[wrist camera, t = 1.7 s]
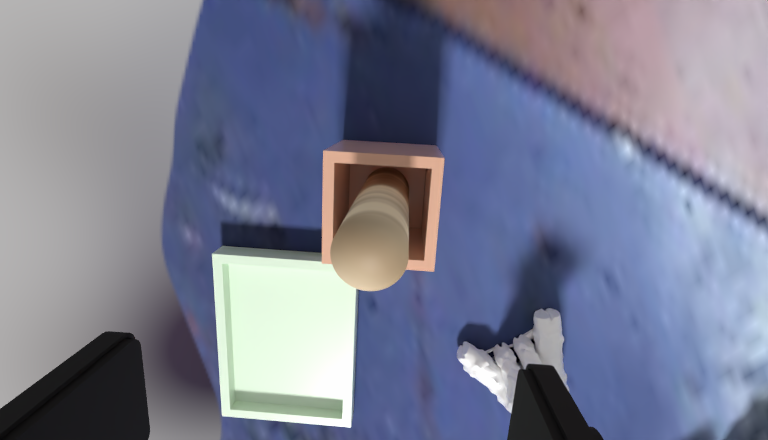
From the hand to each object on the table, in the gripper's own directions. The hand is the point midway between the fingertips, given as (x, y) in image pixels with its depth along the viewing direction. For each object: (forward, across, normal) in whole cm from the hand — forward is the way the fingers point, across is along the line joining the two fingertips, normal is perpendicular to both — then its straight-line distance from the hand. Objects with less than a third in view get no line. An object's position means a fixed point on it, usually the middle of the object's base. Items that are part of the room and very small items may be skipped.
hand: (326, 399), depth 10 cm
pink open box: (+25, 0, -1) cm, 25 cm away
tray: (+25, +8, +13) cm, 30 cm away
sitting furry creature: (+25, -13, +14) cm, 32 cm away
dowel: (+24, 0, -1) cm, 24 cm away
